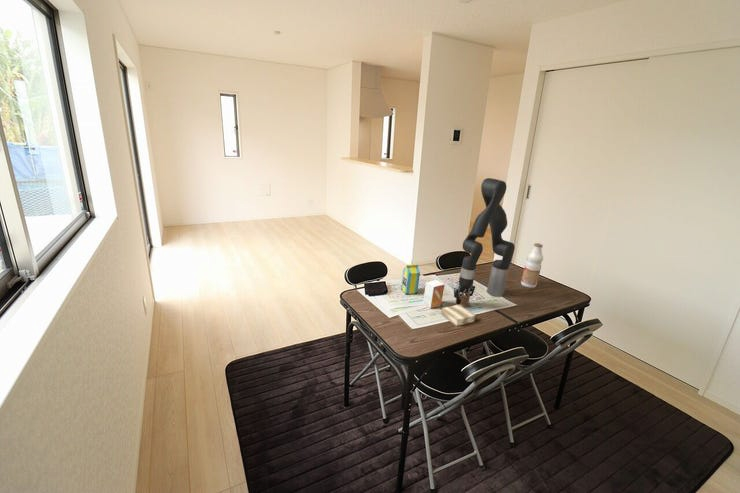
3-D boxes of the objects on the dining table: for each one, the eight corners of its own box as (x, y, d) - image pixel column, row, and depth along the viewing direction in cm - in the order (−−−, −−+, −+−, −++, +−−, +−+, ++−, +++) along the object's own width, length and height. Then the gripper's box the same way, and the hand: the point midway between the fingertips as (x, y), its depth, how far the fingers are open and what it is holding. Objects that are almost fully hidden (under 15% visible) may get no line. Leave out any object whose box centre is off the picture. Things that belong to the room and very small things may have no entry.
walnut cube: (461, 302, 196) (463, 294, 194) (468, 306, 192) (469, 298, 190) (455, 303, 194) (456, 295, 192) (461, 307, 190) (462, 299, 188)
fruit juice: (526, 288, 221) (537, 246, 211) (517, 282, 229) (527, 241, 220) (539, 288, 223) (550, 246, 214) (529, 281, 231) (540, 241, 222)
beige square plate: (458, 310, 187) (459, 304, 185) (474, 322, 177) (475, 315, 176) (440, 315, 181) (441, 308, 180) (456, 326, 171) (457, 319, 170)
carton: (411, 287, 208) (415, 259, 202) (417, 293, 201) (421, 265, 195) (400, 288, 206) (403, 260, 200) (405, 294, 199) (409, 265, 193)
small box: (430, 309, 185) (433, 286, 181) (422, 303, 190) (425, 282, 186) (441, 305, 190) (445, 284, 186) (433, 300, 195) (436, 279, 190)
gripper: (471, 271, 193) (466, 298, 199) (452, 274, 187) (447, 302, 192) (481, 276, 187) (476, 304, 193) (461, 280, 180) (456, 309, 186)
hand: (461, 303), depth 192 cm, fingers closed on walnut cube, 5 cm apart
